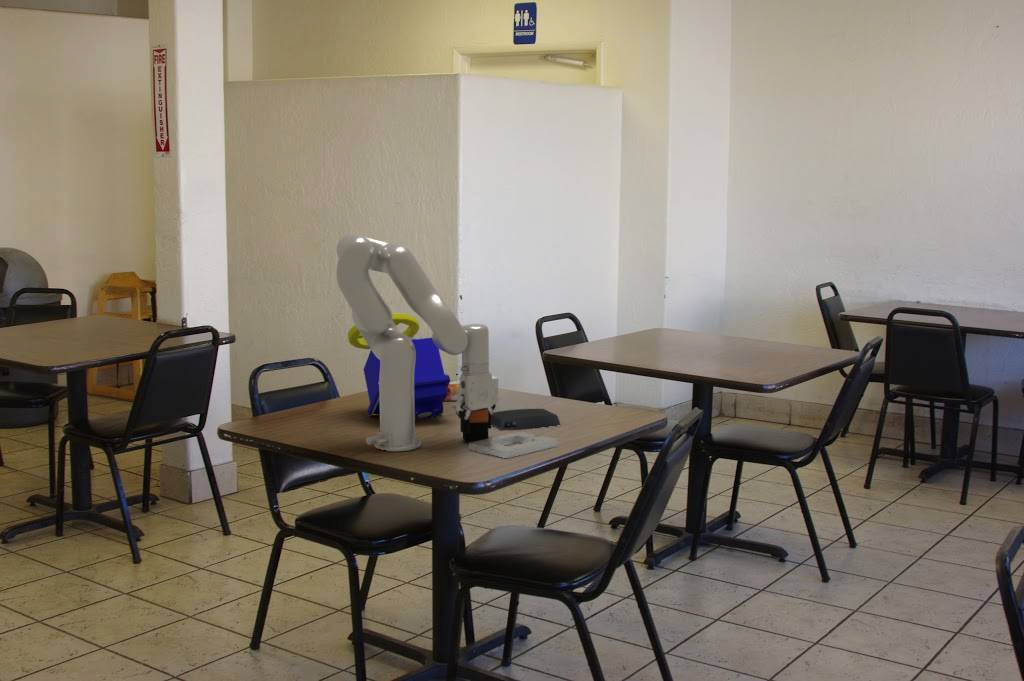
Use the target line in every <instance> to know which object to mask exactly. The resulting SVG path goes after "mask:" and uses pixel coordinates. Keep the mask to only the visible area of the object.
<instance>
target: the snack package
mask: <svg viewBox="0 0 1024 681" xmlns="http://www.w3.org/2000/svg"><path fill="white" fill-rule="evenodd" d="M459 384H460V380H457V381H456V380H455V381H450V383H449V385H448V387H447V393H448V395H447V397H446V398H445V400H444V402H457V400H458V399H459Z"/></svg>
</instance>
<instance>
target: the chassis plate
mask: <svg viewBox="0 0 1024 681" xmlns="http://www.w3.org/2000/svg"><path fill="white" fill-rule="evenodd" d="M516 443H517V444H516ZM514 444H516V445H514ZM468 445H469V446H468V449H469V451H471V450H473V451H472V452H475V451H477V452H476V453H479V452H481V453H480V454H483V453H485V454H484V455H487V454H490V455H489V456H491V455H495V456H494V457H496V456H499V457H498V458H500V457H502V458H501V459H504V458H507V459H511V458H514V457H515V456H516V457H519V455H520V456H523V455H524V456H525V455H527V454H532V453H536V452H539V451H543V450H548V449H551V448H552V449H553V448H555V447H557V446H558V439H557V438H553V437H548V436H544V435H543V436H542V435H541V436H537V437H535V434H534V433H528V432H525V431H522V430H521V431H520V430H519V431H516V432H513V433H508V434H502V435H499V436H494V437H490V438H489V437H488V439H485V440H480V441H476V442H468ZM504 445H505V446H504ZM509 445H511V446H509Z"/></svg>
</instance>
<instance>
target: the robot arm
mask: <svg viewBox="0 0 1024 681" xmlns="http://www.w3.org/2000/svg"><path fill="white" fill-rule="evenodd" d="M336 244H337V245H336V255H337V256H338V260H337V264H336V274H335V275H336V282H337V285H338V288H339V290H340V292H341V294H342V296H343V297H344V298H345V301H346V302H347V304H348V307H349V308H350V309H351V311H352V312H351V317H352V320H353V321H352V322H353V323H354V325H356V327H357V328H358V330H359V332H360V333H361V335H362V336H363V338H362V339H364V340H365V341H366V343H367V344H368V346H369V347H370V349H369V350H370V351H371V350H372V352H373V353H374V355H375V356H376V357H377V358H378V359H379V360H380V375H379V394H380V415H379V431H376V435H374V436H369V437H366V439H365V442H366V444H367V445H374V448H375V447H376V448H375V449H377V448H378V449H377V450H379V449H381V450H380V451H383V450H386V451H385V452H406V451H412V450H413V451H414V450H416V449H419V448H420V447H421V445H422V444H421V440H419V439H418V438H416V423H415V422H416V420H415V401H414V370H415V361H416V351H415V347H414V344H413V342H412V341H411V339H410V338H409V337H408V336H406V335H404V334H403V333H402V332H401V331H400V330H399V329H398V326H396V325H395V324H394V322H393V320H392V313H393V312H392V310H391V309H390V307H389V305H388V304H387V303H386V301H385V300H384V298H383V297H382V295H381V293H380V292H379V291H378V289H377V287H376V286H375V283H374V281H372V279H371V277H370V272H369V270H370V271H375V272H380V273H382V274H383V273H384V274H387V275H388V276H389V278H390V279H391V281H392V282H393V283H394V285H395V287H396V288H397V289H398V291H399V293H400V294H401V296H402V298H404V300H405V302H406V304H407V305H408V306H409V307H410V309H412V311H413V312H414V313H415V314H416V315H418V316H419V317H420V318H422V320H423V321H424V322H425V323H426V325H427V326H428V327H429V329H431V330H430V331H432V334H431V335H432V336H431V338H432V340H433V343H434V345H435V346H436V347H437V348H438V349H439V351H442V352H444V353H446V354H448V355H451V356H458V355H461V366H460V371H461V374H460V378H459V381H460V384H459V399H458V400H457V401H455V403H454V404H453V405H452V409H453V411H454V412H455V414H456V415H457V417H458V419H459V420H460V421H459V422H460V433H462V434H463V433H467V434H468V433H470V419H468V417H469V415H470V412H471V411H476V410H481V409H487V410H488V430H489V429H492V428H493V426H491V414H493V410H494V409H495V407H496V403H497V401H498V402H499V397H498V398H497V397H496V396H495V395H494V387H493V380H492V376H493V375H492V372H491V371H490V353H489V352H490V351H489V350H490V349H489V348H490V344H489V343H490V341H489V338H490V332H489V328H488V326H487V325H486V324H482V323H472V324H470V323H469V324H466V325H463V324H461V322H460V321H459V319H458V318H457V317H456V314H454V312H453V311H452V310H451V308H450V307H449V305H448V304H447V303H446V302H445V300H444V299H443V298H442V296H441V295H440V293H439V292H438V291H437V289H436V288H435V286H434V285H433V284H432V282H431V280H430V279H429V278H428V276H427V275H426V273H425V271H424V269H423V268H422V267H421V265H420V264H419V262H418V261H417V259H416V257H415V256H414V254H413V253H412V251H411V250H410V249H409V248H408V247H406V246H405V245H402V244H398V243H393V242H387V241H383V240H377V239H374V238H370V237H367V236H364V235H359V234H355V233H349V234H346V235H343V236H342V237H341V238H340V239H339V240H338V241H337V243H336ZM464 411H466V413H465V414H464Z"/></svg>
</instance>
